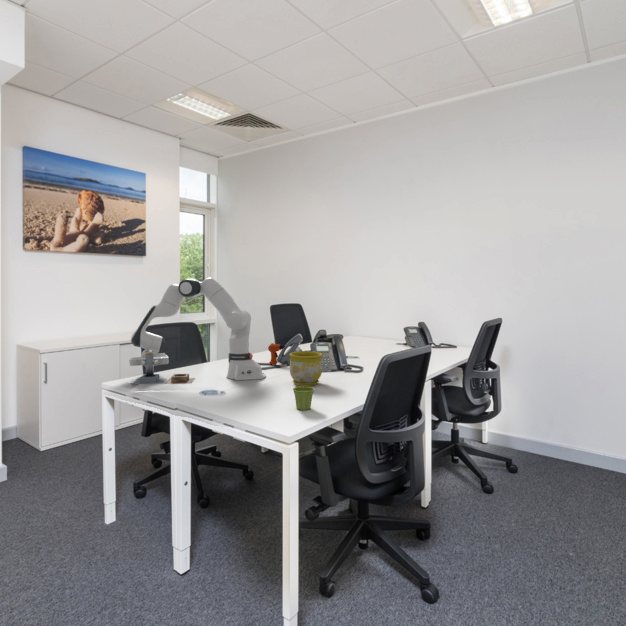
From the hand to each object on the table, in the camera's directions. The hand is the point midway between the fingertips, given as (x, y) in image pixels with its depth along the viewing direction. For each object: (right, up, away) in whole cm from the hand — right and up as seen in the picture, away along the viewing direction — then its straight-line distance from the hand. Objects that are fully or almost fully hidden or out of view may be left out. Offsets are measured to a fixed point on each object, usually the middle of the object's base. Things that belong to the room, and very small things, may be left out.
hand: (149, 363), depth 232 cm
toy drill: (+65, -8, +57) cm, 87 cm away
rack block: (0, -11, +1) cm, 11 cm away
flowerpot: (+84, -12, +4) cm, 85 cm away
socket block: (+15, -11, +3) cm, 19 cm away
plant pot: (+84, -15, -45) cm, 96 cm away
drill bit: (0, -8, +1) cm, 9 cm away
